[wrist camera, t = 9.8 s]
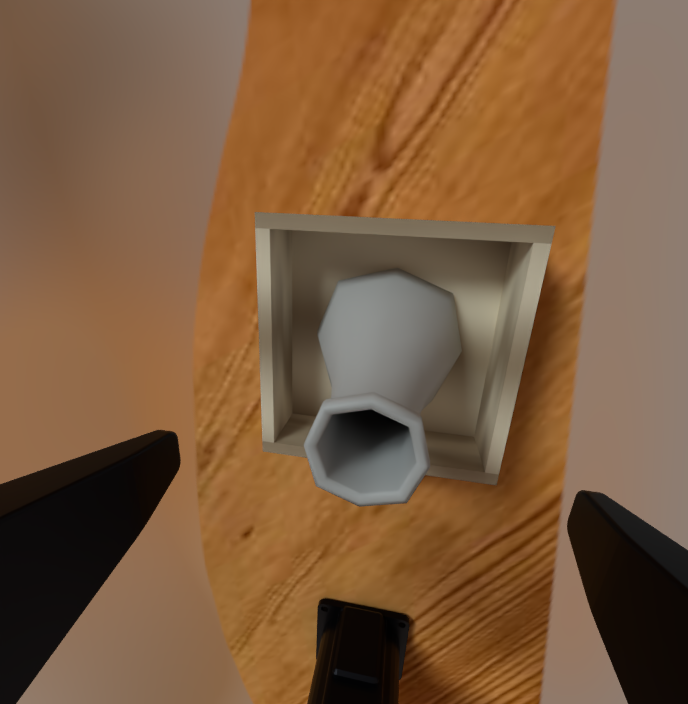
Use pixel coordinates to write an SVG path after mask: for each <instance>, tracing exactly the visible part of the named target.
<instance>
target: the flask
mask: <svg viewBox="0 0 688 704" xmlns="http://www.w3.org/2000/svg"><path fill="white" fill-rule="evenodd" d="M317 335H318V338H319V342H320V346H321V350H322V353H323V357H324V361H325V365H326V368H327V372H328V376H329V380H330V383H331V387H332V391H331V398H329V399H326V400H325V401H323V403H322V406H321V408H320V410H319V412H318V414H317V416H316V418H315V421H314V423H313V425H312V427H311V429H310V431H309V434H308V436H307V438H306V440H305V443H304V448H305V451H306V455H307V458H308V461H309V464H310V468H311V471H312V474H313V477H314V481H315V484H316V486H317V487H319V488H321V489H324V490H326V491H328V492H330V493H332V494H334V495H336V496H338V497H340V498H342V499H345V500H347V501H349V502H351V503H353V504H355V505H357V506H373V505H386V504H400V503H407V502H408V500H409V499H410V497H411V496H412V494H413V493H414V491H415V490H416V488H417V487H418V485H419V483H420V482H421V480H422V479H423V477H424V476H425V474H426V473H427V471H428V470H429V468H430V458H429V453H428V448H427V443H426V438H425V432H424V427H423V422H422V417H421V415H420V413H421V411H422V410H423V409H424V408H425V407H426V406H427V405H428V404H429V403H430V402H431V401H432V400H433V399H434V397H435V395H436V394H437V392H438V390H439V389H440V387H441V385H442V384H443V382H444V380H445V379H446V377H447V375H448V374H449V372H450V370H451V369H452V367H453V365H454V364H455V362H456V360H457V359H458V357H459V355H460V354H461V352H462V348H461V341H460V335H459V328H458V321H457V315H456V308H455V301H454V295H453V293H451V292H449V291H447V290H445V289H443V288H440V287H438V286H436V285H434V284H432V283H430V282H428V281H425V280H423V279H421V278H419V277H417V276H415V275H412V274H410V273H408V272H406V271H404V270H402V269H399V268H393V269H388V270H384V271H379V272H375V273H370V274H366V275H361V276H357V277H352V278H348V279H344V280H339V281H338V283H337V285H336V287H335V290H334V292H333V295H332V297H331V299H330V302H329V304H328V307H327V309H326V311H325V314H324V316H323V319H322V321H321V323H320V326H319V328H318V330H317Z"/></svg>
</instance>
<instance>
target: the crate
mask: <svg viewBox="0 0 688 704" xmlns="http://www.w3.org/2000/svg"><path fill="white" fill-rule="evenodd" d="M554 230H555V226H541V225H520V224H498V223H477V222H455V221H434V220H412V219H391V218H369V217H348V216H326V215H305V214H283V213H262V212H255V232H256V261H257V291H258V321H259V351H260V381H261V411H262V441H263V451H264V452H271V453H278V454H285V455H292V456H298V457H305V458H307V455H306V451H305V448H304V443H305V440H306V438H307V436H308V434H309V431H310V429H311V427H312V425H313V423H314V421H315V418H316V416H317V414H318V412H319V410H320V408H321V406H322V403H323V401H325V400H326V399H329V398H331V391H332V387H331V383H330V380H329V376H328V372H327V368H326V365H325V361H324V357H323V353H322V350H321V346H320V342H319V338H318V335H317V330H318V328H319V326H320V323H321V321H322V319H323V316H324V314H325V311H326V309H327V307H328V304H329V302H330V299H331V297H332V295H333V292H334V290H335V287H336V285H337V283H338V281H339V280H344V279H348V278H352V277H357V276H361V275H366V274H370V273H375V272H379V271H384V270H388V269H393V268H399V269H402V270H404V271H406V272H408V273H410V274H412V275H415V276H417V277H419V278H421V279H423V280H425V281H428V282H430V283H432V284H434V285H436V286H438V287H440V288H443V289H445V290H447V291H449V292H451V293H453V295H454V301H455V308H456V315H457V321H458V328H459V335H460V341H461V348H462V352H461V354H460V355H459V357H458V359H457V360H456V362H455V364H454V365H453V367H452V369H451V370H450V372H449V374H448V375H447V377H446V379H445V380H444V382H443V384H442V385H441V387H440V389H439V390H438V392H437V394H436V395H435V397H434V399H433V400H432V401H431V402H430V403H429V404H428V405H427V406H426V407H425V408H424V409H423V410H422V411H421V413H420V415H421V417H422V422H423V427H424V432H425V438H426V443H427V448H428V453H429V458H430V468H429V470H428V471H427V473H426V474H425V475H429V476H435V477H442V478H449V479H456V480H463V481H470V482H477V483H483V484H490V485H497V480H498V476H499V472H500V467H501V463H502V458H503V454H504V450H505V445H506V441H507V437H508V432H509V428H510V423H511V419H512V415H513V410H514V406H515V401H516V397H517V393H518V388H519V384H520V380H521V375H522V371H523V366H524V362H525V358H526V353H527V349H528V344H529V340H530V336H531V331H532V327H533V323H534V318H535V314H536V309H537V305H538V301H539V296H540V292H541V287H542V283H543V279H544V274H545V270H546V266H547V261H548V257H549V252H550V248H551V244H552V239H553V235H554Z"/></svg>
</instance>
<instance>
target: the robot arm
mask: <svg viewBox="0 0 688 704" xmlns="http://www.w3.org/2000/svg"><path fill="white" fill-rule="evenodd" d="M179 467H180V453H179V444H178V437H177V435H176V433H174V432H172V431H165V430H156V431H153V432H150V433H147V434H144V435H141V436H139V437H136V438H133V439H130V440H127V441H124V442H121V443H118V444H115V445H113V446H110V447H107V448H104V449H101V450H98V451H95V452H92V453H89V454H87V455H84V456H81V457H78V458H75V459H72V460H69V461H66V462H63V463H61V464H58V465H55V466H52V467H49V468H46V469H43V470H40V471H37V472H35V473H32V474H29V475H26V476H23V477H20V478H17V479H14V480H11V481H9V482H6V483H3V484H0V704H16V703H17V702H18V700H19V699H20V698H21V696H22V695H23V693H24V692H25V691H26V689H27V688H28V687H29V685H30V684H31V682H32V681H33V680H34V678H35V677H36V675H37V674H38V673H39V671H40V670H41V669H42V667H43V666H44V665H45V663H46V662H47V660H48V659H49V658H50V656H51V655H52V654H53V652H54V651H55V650H56V648H57V647H58V645H59V644H60V643H61V641H62V640H63V638H64V637H65V636H66V634H67V633H68V631H69V630H70V629H71V628H72V626H73V625H74V623H75V622H76V621H77V619H78V618H79V616H80V615H81V614H82V612H83V611H84V610H85V608H86V607H87V606H88V604H89V603H90V601H91V600H92V598H93V597H94V596H95V595H96V593H97V592H98V591H99V589H100V588H101V586H102V585H103V584H104V582H105V581H106V580H107V578H108V577H109V575H110V574H111V573H112V571H113V570H114V569H115V567H116V566H117V564H118V563H119V562H120V560H121V559H122V557H123V556H124V555H125V553H126V552H127V551H128V549H129V548H130V547H131V545H132V544H133V543H134V541H135V540H136V538H137V537H138V536H139V534H140V532H141V531H142V530H143V528H144V527H145V525H146V524H147V522H148V520H149V519H150V517H151V516H152V514H153V512H154V511H155V509H156V507H157V506H158V504H159V502H160V501H161V499H162V497H163V495H164V494H165V492H166V490H167V489H168V487H169V485H170V484H171V482H172V480H173V479H174V477H175V475H176V474H177V472H178V470H179ZM567 530H568V534H569V537H570V541H571V545H572V548H573V552H574V555H575V559H576V562H577V566H578V569H579V572H580V576H581V579H582V583H583V586H584V589H585V593H586V596H587V600H588V603H589V606H590V609H591V612H592V614H593V617H594V620H595V622H596V625H597V628H598V630H599V633H600V635H601V638H602V640H603V643H604V645H605V647H606V650H607V652H608V655H609V657H610V660H611V662H612V665H613V667H614V670H615V672H616V675H617V677H618V680H619V682H620V685H621V687H622V690H623V692H624V695H625V697H626V700H627V702H628V704H688V550H687V549H685V548H684V547H682V546H680V545H679V544H678V543H676V542H675V541H673V540H672V539H670V538H669V537H667V536H666V535H664V534H662V533H661V532H660V531H658V530H657V529H655V528H654V527H652V526H651V525H649V524H648V523H646V522H645V521H643V520H642V519H640V518H639V517H637V516H636V515H634V514H633V513H631V512H630V511H628V510H627V509H625V508H624V507H622V506H621V505H619V504H618V503H617V502H615V501H613V500H612V499H610V498H609V497H608V496H606V495H604V494H603V493H599V492H591V491H585V490H581V491H579V492H578V493H577V494H576V497H575V500H574V503H573V506H572V509H571V512H570V515H569V518H568V523H567ZM408 631H409V618H408V617H407V616H406V615H403V614H399V613H394V612H389V611H384V610H379V609H374V608H369V607H364V606H359V605H354V604H349V603H344V602H339V601H334V600H329V599H321V600H320V601H319V605H318V618H317V649H316V659H317V661H316V665H315V670H314V675H313V679H312V684H311V689H310V693H309V698H308V703H307V704H398V694H399V680H400V679H401V676H402V670H403V664H404V657H405V651H406V644H407V638H408Z"/></svg>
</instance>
